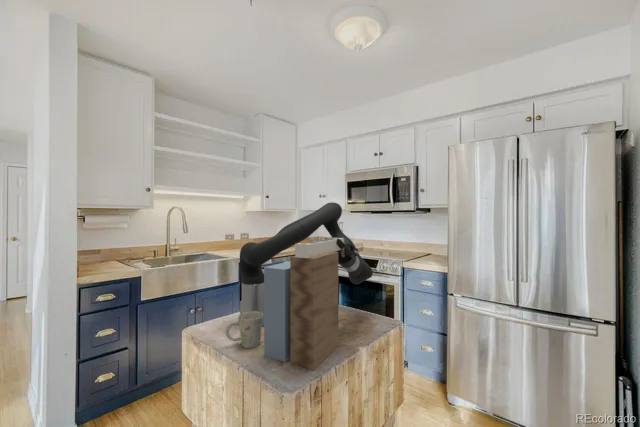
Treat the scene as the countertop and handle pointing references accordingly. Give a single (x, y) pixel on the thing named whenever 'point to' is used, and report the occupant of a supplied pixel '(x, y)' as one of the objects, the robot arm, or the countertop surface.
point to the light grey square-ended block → (316, 247)
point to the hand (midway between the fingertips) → (331, 240)
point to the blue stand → (277, 311)
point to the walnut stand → (313, 309)
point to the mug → (248, 329)
